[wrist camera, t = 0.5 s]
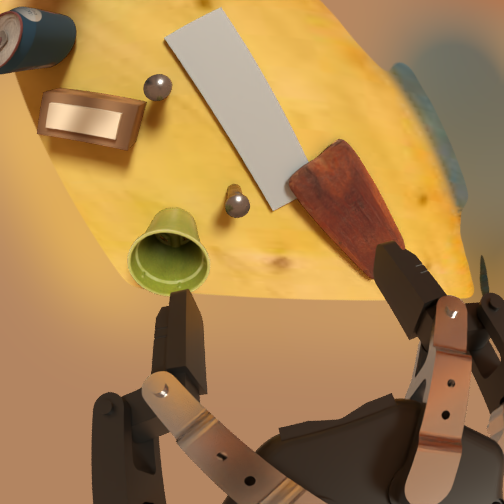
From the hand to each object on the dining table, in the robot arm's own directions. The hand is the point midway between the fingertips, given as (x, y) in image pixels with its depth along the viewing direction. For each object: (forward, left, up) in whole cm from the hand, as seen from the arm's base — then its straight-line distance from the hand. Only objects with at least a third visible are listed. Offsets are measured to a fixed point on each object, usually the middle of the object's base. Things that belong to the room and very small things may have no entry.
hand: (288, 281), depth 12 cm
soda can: (-24, -11, -26) cm, 37 cm away
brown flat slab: (+20, +10, -25) cm, 33 cm away
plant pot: (+6, -13, -26) cm, 29 cm away
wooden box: (-12, -12, -26) cm, 31 cm away
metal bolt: (+6, -4, -25) cm, 26 cm away
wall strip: (-2, +3, -25) cm, 26 cm away
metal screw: (-10, -4, -25) cm, 27 cm away
